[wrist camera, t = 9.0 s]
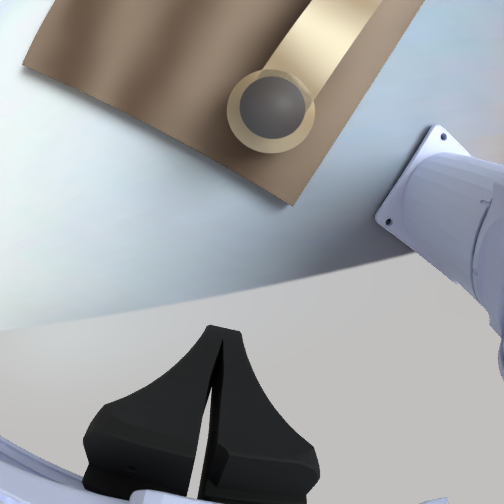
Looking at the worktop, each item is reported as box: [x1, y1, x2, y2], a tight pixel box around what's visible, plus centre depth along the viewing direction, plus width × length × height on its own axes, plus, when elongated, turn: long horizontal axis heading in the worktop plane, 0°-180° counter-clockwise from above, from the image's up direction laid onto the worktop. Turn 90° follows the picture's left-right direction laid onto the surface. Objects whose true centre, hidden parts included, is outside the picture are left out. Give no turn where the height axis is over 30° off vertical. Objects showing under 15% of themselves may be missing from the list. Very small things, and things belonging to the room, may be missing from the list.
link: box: [227, 0, 382, 153], centre depth 13 cm, size 18×4×4 cm, turn 149°
